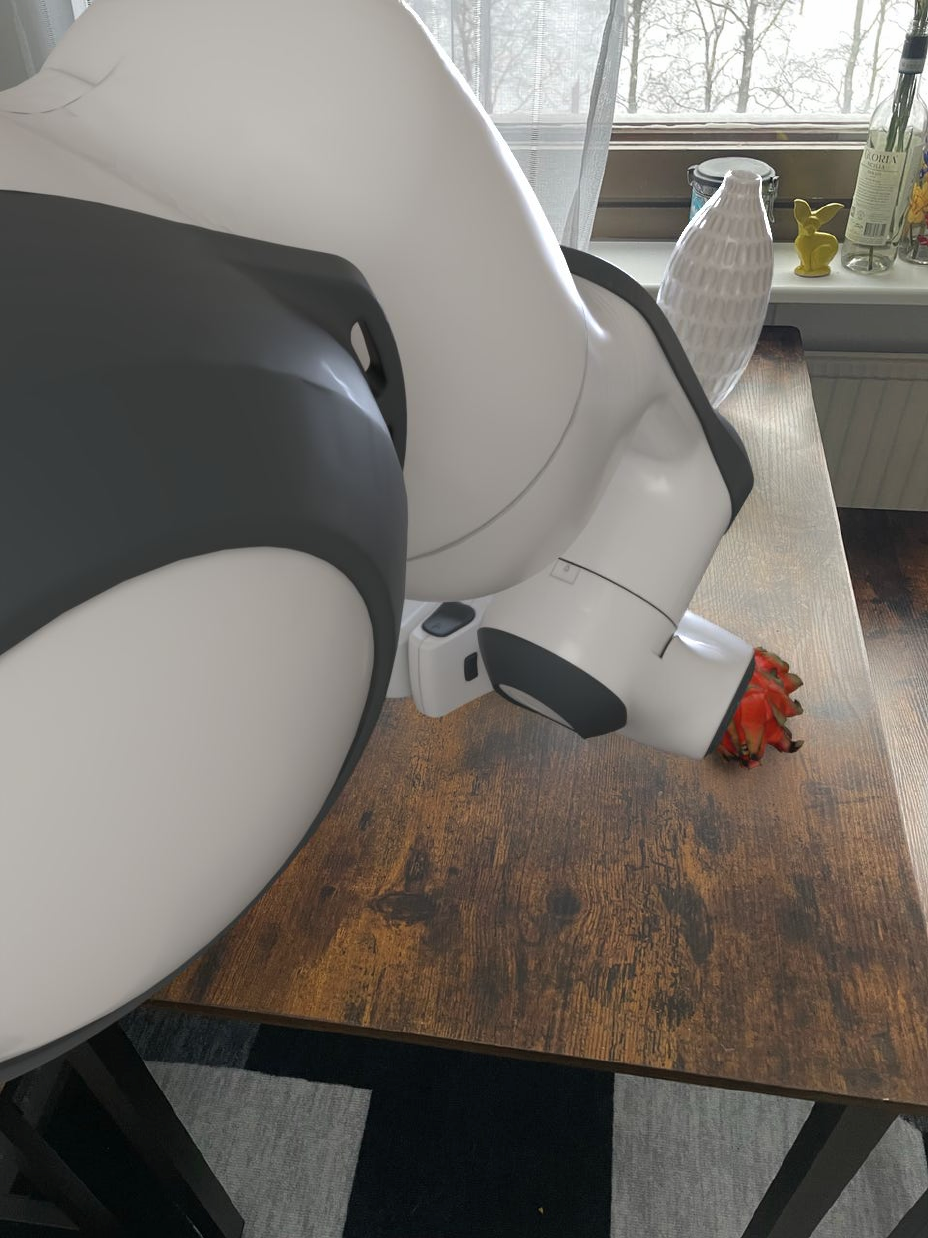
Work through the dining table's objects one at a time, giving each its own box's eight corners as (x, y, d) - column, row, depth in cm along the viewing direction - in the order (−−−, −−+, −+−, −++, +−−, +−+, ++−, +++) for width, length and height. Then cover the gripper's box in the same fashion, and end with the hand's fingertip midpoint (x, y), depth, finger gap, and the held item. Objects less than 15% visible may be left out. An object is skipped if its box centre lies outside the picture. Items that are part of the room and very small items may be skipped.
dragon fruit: (752, 693, 84) (738, 809, 77) (681, 647, 82) (660, 761, 74) (826, 657, 77) (820, 780, 70) (752, 606, 75) (737, 727, 68)
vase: (726, 444, 112) (797, 202, 93) (624, 418, 115) (674, 179, 96) (742, 398, 121) (810, 169, 102) (647, 375, 124) (697, 149, 105)
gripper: (591, 493, 65) (435, 438, 71) (410, 663, 53) (241, 578, 59) (586, 564, 69) (439, 505, 75) (417, 736, 57) (259, 649, 63)
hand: (350, 538), depth 67 cm, fingers open, 8 cm apart
